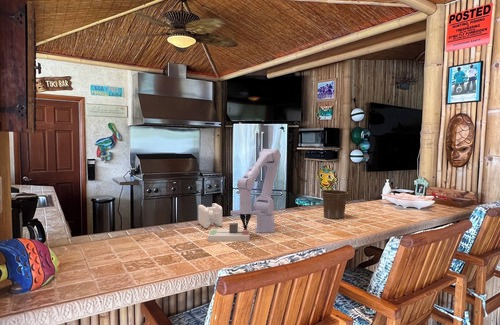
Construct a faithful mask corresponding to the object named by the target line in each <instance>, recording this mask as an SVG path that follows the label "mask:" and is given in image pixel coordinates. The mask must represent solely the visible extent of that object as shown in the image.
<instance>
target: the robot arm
mask: <svg viewBox="0 0 500 325" xmlns="http://www.w3.org/2000/svg"><path fill="white" fill-rule="evenodd" d="M258 154H259V157H257V160H256V162H255V164H254V165H253V166H250V167H249V168H248V170H247V171H246V173H245V174H244V175H243V177H240V178H239V179H238V180H237V182H236V187H237V189H238V193H239V210H237V209H236V210H235V209H234V210H230V216H239V218H240V220H241V222H242V226H243V229H244V230H247V229H248V226H249V222H250V220H251V217H252V216H256V227H255V233H275V228H276V227H275V215H274V214H272V213H273V212H274V209H275V206H274V205H275V201H274V200H273V198H272V197H271V196H272V193H273V188H274V185H275V179H276V174H277V171H278V166H280V162H281V151H280V149H279V148H262V149H261V150H260V152H259V153H258ZM264 166H266V167H267V168H266V172H265V176H264V180H263V185H262V189H261V194H260V195H258V196H257V197H256V199H255V201H254V202H253V204H252V189H253V188H254V186H255V182H256V180H257V178H258V177H259V175H260V170H261V169H262V168H263V167H264ZM252 205H253V208H252Z"/></svg>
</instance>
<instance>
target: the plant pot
mask: <svg viewBox="0 0 500 325" xmlns="http://www.w3.org/2000/svg"><path fill="white" fill-rule="evenodd" d="M348 195H349V192H348V191H345V190H340V189H339V190H336V189H324V190H321V198H322V205H323V217H325V218H327V219H330V220H337V219H338V220H343V219H344V218H345V211H346V205H347V204H346V202H347V199H348Z"/></svg>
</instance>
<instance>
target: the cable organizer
mask: <svg viewBox="0 0 500 325" xmlns="http://www.w3.org/2000/svg"><path fill="white" fill-rule="evenodd" d="M197 206H198V211H197V212H198V214H197V215H198V223H199V224H200V226H202V227H203V228H204V229H208V228H209V227H210V226H211V224H214V225H216V226H218V227H221V226H223V207H222V206H221V205H220V204H218V203H216V202H215V203H211V206H210V207H209V206H207V207H206V206H205V205H204V204H198V205H197Z"/></svg>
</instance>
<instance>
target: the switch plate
mask: <svg viewBox="0 0 500 325" xmlns="http://www.w3.org/2000/svg"><path fill="white" fill-rule="evenodd" d="M250 237H251V229H250V228H247V230H244V228H238V233H229V228H211V229H210V230H209V232H208V234H207V242H250V239H251V238H250Z"/></svg>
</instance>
